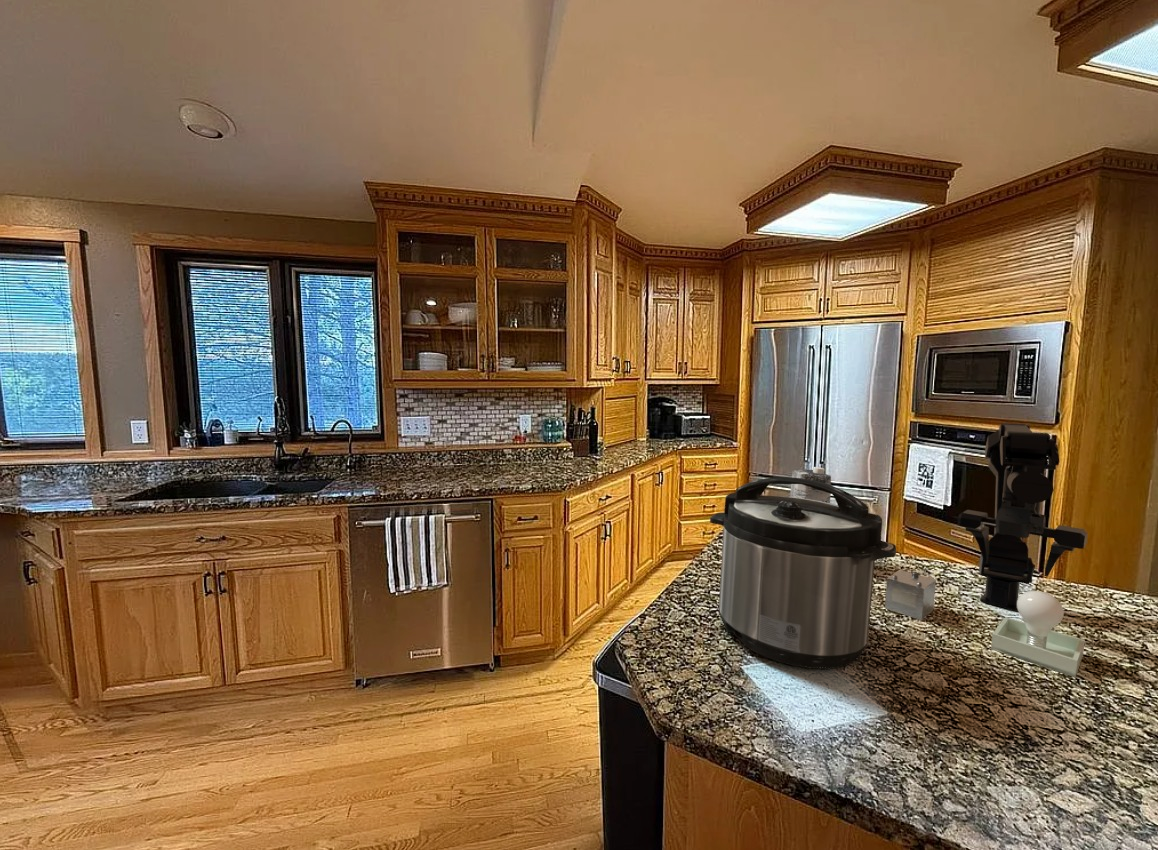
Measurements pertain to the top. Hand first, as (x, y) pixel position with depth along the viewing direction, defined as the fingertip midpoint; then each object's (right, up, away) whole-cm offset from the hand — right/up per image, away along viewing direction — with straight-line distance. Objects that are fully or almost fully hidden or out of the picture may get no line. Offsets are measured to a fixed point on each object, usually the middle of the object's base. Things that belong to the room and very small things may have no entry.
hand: (1015, 568), depth 97 cm
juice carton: (-23, -10, +40) cm, 47 cm away
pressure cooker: (-47, -13, -2) cm, 48 cm away
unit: (-15, -12, +10) cm, 21 cm away
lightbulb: (-2, -13, -7) cm, 15 cm away
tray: (-2, -14, -7) cm, 16 cm away
